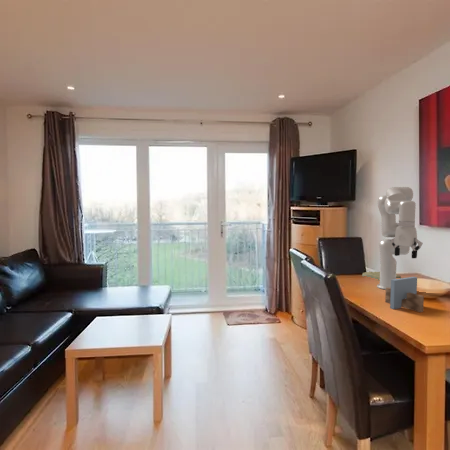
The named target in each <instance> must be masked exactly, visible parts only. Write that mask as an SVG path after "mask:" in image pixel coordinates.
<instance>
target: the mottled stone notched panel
mask: <svg viewBox="0 0 450 450" xmlns="http://www.w3.org/2000/svg"><path fill="white" fill-rule="evenodd" d="M390 297H391V288H389V287H388V288H386V289H385V298H384V299H385V301H384V302H385V303H387V304H390ZM424 298H425V296H424V295H421V294H414V293H407V299H402V303H401V308H404V309H408V310H411V311H415V312H418V313H423V312H424V303H425V299H424Z"/></svg>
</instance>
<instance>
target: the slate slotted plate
mask: <svg viewBox="0 0 450 450" xmlns="http://www.w3.org/2000/svg"><path fill="white" fill-rule="evenodd" d="M417 291H418V277H417V276H409V277H401V278H400V279H393V280H391V297H390V303H389V304H390V306H389V308H390V310H391V309H392V310H396V309H397V310H398V309H402V307H401V303H402V299H407V293H414V294H417V293H418V292H417Z"/></svg>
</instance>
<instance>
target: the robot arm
mask: <svg viewBox="0 0 450 450" xmlns="http://www.w3.org/2000/svg"><path fill="white" fill-rule="evenodd" d="M413 198H414V191H413V189H412V188H411V187H410V186H394V187H393V186H392V187H390V188H388V189H387V190H386V193H385V195H381V196H379V197H378V200H377V207H378V211H379V213H380V218H381V222H380V223H381V225H380V226H381V235H382V236H383V237H384V239H382V240H380V242H379V243H378V246H379V247H378V248H379V258H380V259H379V260H380V262H379V272H380V281H379V283H377V285H376V288H378V289H380V290H386V288H388V287H389V288H391V280H393V279H396V274H397V259H396V258H395V257H397V256H399V257H400V255H401V256H402V255H408V254H409V253H410V248H411V249H412V251H411V259H417V257H418V251H419V250H420V249H421V247H422V245H423V242H422V241H420V240H419V239H418V233H417V232H418V231H417V227H415V226H416V209H417V208H416V206H417V203H416V202H415V201H414V200H413ZM396 215H398V221H397V220H396V219H397V218H396ZM385 238H391V239H385ZM393 255H394V256H395V257H394V256H393Z"/></svg>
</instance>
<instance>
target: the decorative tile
mask: <svg viewBox="0 0 450 450" xmlns="http://www.w3.org/2000/svg"><path fill="white" fill-rule="evenodd" d="M364 276H367V277H371V278H375V279H378V280H377V281H379V280H380V271H365V272H362V275H361V277H364ZM367 277H366V278H367ZM371 278H370V279H371ZM396 278H402V277H401V275H399V274H397V273H396ZM375 279H374V280H375Z"/></svg>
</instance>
